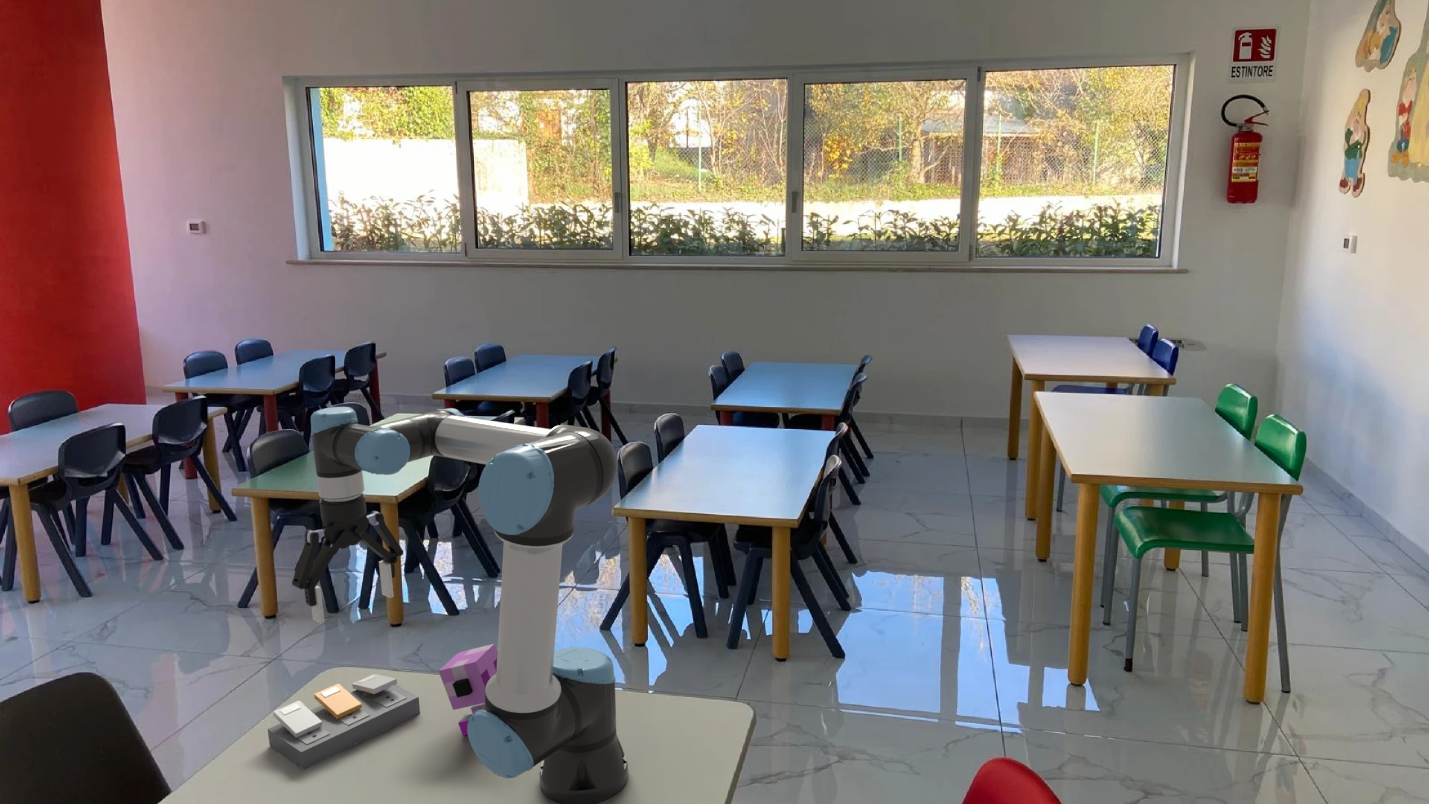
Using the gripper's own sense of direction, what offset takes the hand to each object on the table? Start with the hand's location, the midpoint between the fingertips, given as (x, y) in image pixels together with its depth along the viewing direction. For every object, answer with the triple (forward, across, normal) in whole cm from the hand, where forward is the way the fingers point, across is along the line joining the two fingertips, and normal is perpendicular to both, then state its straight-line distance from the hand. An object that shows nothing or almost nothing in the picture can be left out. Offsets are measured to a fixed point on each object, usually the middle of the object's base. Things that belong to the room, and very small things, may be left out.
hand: (354, 608), depth 177 cm
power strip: (+26, +1, -6) cm, 27 cm away
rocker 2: (+22, +1, -9) cm, 24 cm away
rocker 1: (+22, +9, -9) cm, 25 cm away
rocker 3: (+22, -7, -9) cm, 25 cm away
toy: (+27, -17, +12) cm, 34 cm away
